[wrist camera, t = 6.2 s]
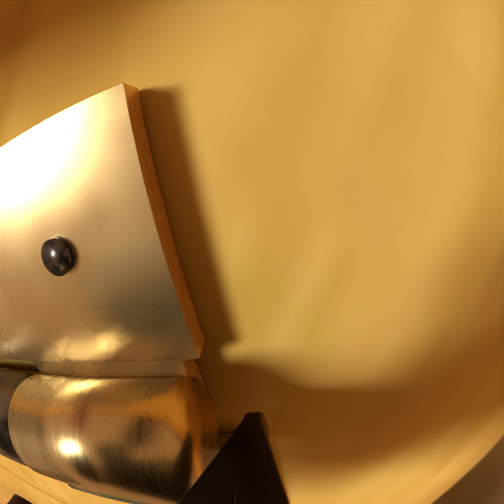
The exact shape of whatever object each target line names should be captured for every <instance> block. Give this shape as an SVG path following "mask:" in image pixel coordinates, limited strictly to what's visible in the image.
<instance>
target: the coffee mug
mask: <svg viewBox="0 0 504 504" xmlns="http://www.w3.org/2000/svg"><path fill="white" fill-rule="evenodd" d="M7 504H32V503H30V502H28V501H27V500H25V499H23V498H22V497H20V496H18V495H16V494H14V496H13V497H12V498H11V499H10V501H9V502H8V503H7Z"/></svg>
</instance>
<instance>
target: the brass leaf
mask: <svg viewBox="0 0 504 504" xmlns="http://www.w3.org/2000/svg"><path fill="white" fill-rule="evenodd" d="M204 342H205V339H204V336H203V333H202V330H201V327H200V324H199V321H198V318H197V315H196V312H195V309H194V306H193V303H192V300H191V297H190V294H189V290H188V287H187V284H186V281H185V277H184V274H183V271H182V268H181V264H180V261H179V257H178V254H177V251H176V247H175V244H174V240H173V237H172V233H171V229H170V226H169V222H168V218H167V215H166V211H165V207H164V203H163V199H162V196H161V192H160V188H159V184H158V180H157V176H156V171H155V167H154V163H153V159H152V154H151V150H150V146H149V141H148V137H147V132H146V127H145V123H144V118H143V113H142V108H141V103H140V98H139V93H138V88H136V87H133V86H130V85H127V84H124V83H122V84H120V85H117V86H115V87H113V88H110V89H108V90H106V91H103V92H101V93H99V94H97V95H94V96H92V97H90V98H88V99H86V100H84V101H82V102H79V103H77V104H75V105H73V106H71V107H69V108H67V109H65V110H64V111H62V112H60V113H58V114H56V115H54V116H52V117H50V118H49V119H47V120H45V121H43V122H41V123H40V124H38V125H36V126H35V127H33V128H31V129H29V130H28V131H26V132H24V133H23V134H21V135H20V136H18V137H16V138H15V139H13V140H12V141H10V142H9V143H7V144H6V145H4V146H3V147H1V148H0V358H2V359H14V360H28V361H34V363H35V364H36V366H37V368H38V369H39V371H40V373H41V374H37V375H33V376H31V377H29V378H27V379H25V380H24V381H23V382H22V383H21V384H20V385H19V386H18V388H17V389H16V390H15V392H14V394H13V396H12V399H11V402H10V406H9V412H8V427H9V433H10V437H11V440H12V443H13V446H14V448H15V450H16V452H17V454H18V455H19V457H20V458H21V459H22V461H23V462H24V463H25V464H26V465H27V466H28V467H29V468H31V469H32V470H34V471H35V472H37V473H39V474H42V475H45V476H47V477H50V478H53V479H55V480H58V481H61V482H64V483H67V484H70V485H73V486H77V487H80V488H83V489H87V490H90V491H94V492H98V493H102V494H106V495H110V496H114V497H118V498H123V499H128V500H133V501H138V502H144V503H150V504H177V503H178V502H179V501H180V500H181V501H182V497H183V496H184V495H185V494H186V493H187V491H188V490H189V489H190V488H191V487H192V485H193V484H194V483H195V482H196V480H197V479H198V478H199V477H200V476H201V474H202V473H203V472H204V470H205V469H206V468H207V467H208V465H209V464H210V463H211V462H212V460H213V459H214V458H215V456H216V455H217V454H218V452H219V451H220V439H219V430H218V424H217V418H216V414H215V410H214V406H213V403H212V400H211V398H210V395H209V393H208V390H207V388H206V386H205V383H204V381H203V378H202V376H201V373H200V371H199V368H198V366H197V363H196V361H195V359H196V358H200V355H201V352H202V348H203V345H204Z"/></svg>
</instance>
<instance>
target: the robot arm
mask: <svg viewBox="0 0 504 504" xmlns="http://www.w3.org/2000/svg"><path fill="white" fill-rule="evenodd" d="M177 504H290V501H289V498H288V495H287V492H286V489H285V486H284V484H283V481H282V478H281V475H280V472H279V469H278V466H277V463H276V460H275V457H274V454H273V451H272V448H271V445H270V442H269V431H268V427H267V424H266V420H265V417H264V414H263V413H262V412H248V413H246V414H245V416H244V419H243V420H242V421H241V423H240V424H239V426H238V427H237V428H236V430H235V431H234V432H233V434H232V435H231V437H230V438H229V439H228V441H227V442H226V443H225V445H224V446H223V447H222V449H221V450H220V451H219V452H218V454H217V455H216V456H215V458H214V459H213V460H212V462H211V463H210V464H209V465H208V467H207V468H206V469H205V470H204V472H203V473H202V474H201V476H200V477H199V478H198V479H197V480H196V482H195V483H194V484H193V485H192V487H191V488H190V489H189V490H188V491H187V493H186V494H185V495H184V496H183V497H182V501H181V500H180V501H179V502H178V503H177Z"/></svg>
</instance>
